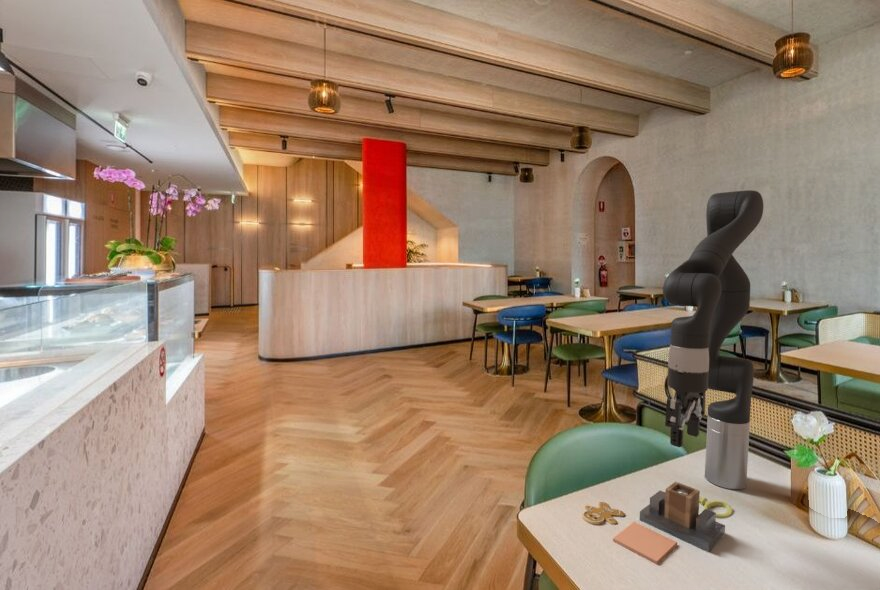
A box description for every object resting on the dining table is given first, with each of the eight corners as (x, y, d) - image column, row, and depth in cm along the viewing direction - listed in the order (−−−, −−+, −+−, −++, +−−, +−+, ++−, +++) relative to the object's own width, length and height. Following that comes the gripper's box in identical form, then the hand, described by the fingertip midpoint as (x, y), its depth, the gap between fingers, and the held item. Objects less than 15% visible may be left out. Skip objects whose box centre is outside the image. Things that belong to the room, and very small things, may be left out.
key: (677, 491, 110) (677, 483, 110) (734, 511, 102) (735, 502, 101) (668, 502, 105) (668, 494, 105) (727, 524, 96) (728, 515, 96)
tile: (634, 524, 96) (634, 521, 96) (676, 544, 89) (676, 542, 89) (612, 540, 90) (612, 538, 90) (656, 564, 83) (656, 561, 83)
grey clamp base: (657, 505, 103) (659, 473, 102) (724, 534, 92) (726, 498, 92) (639, 519, 97) (640, 485, 97) (708, 552, 86) (710, 514, 86)
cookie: (630, 513, 99) (602, 528, 93) (630, 517, 99) (602, 532, 93) (599, 497, 106) (572, 510, 100) (599, 501, 106) (571, 514, 100)
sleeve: (674, 509, 98) (675, 481, 98) (698, 519, 94) (699, 490, 94) (664, 517, 95) (665, 488, 94) (688, 528, 91) (690, 498, 91)
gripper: (683, 358, 99) (680, 427, 101) (654, 368, 90) (651, 443, 92) (720, 364, 93) (716, 437, 95) (693, 375, 85) (689, 455, 86)
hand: (684, 440), depth 93 cm, fingers open, 8 cm apart
